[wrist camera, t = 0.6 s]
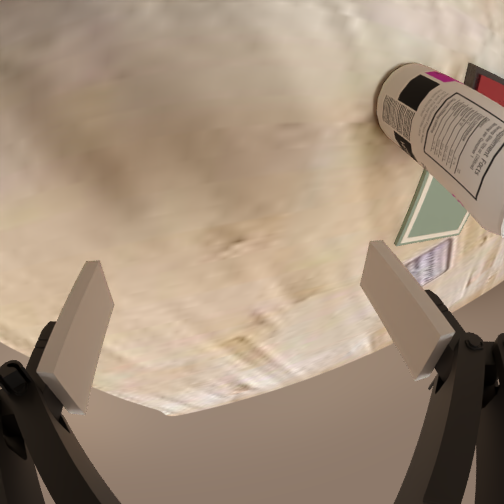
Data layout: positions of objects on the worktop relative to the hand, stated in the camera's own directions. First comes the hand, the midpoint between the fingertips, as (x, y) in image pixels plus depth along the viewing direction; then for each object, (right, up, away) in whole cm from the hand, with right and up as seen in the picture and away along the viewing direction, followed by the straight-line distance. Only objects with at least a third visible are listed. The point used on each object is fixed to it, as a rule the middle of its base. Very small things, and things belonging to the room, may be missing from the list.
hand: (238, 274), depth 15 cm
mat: (+26, +8, +20) cm, 34 cm away
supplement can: (+15, +15, +9) cm, 23 cm away
